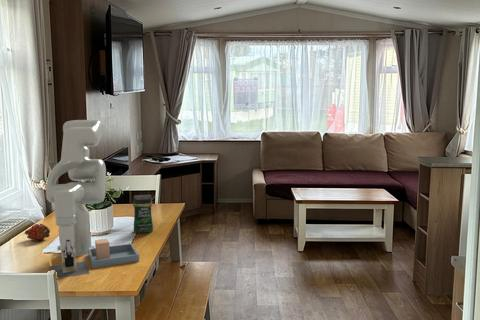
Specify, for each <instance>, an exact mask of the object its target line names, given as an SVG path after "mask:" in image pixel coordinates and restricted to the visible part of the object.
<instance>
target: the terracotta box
mask: <svg viewBox="0 0 480 320" xmlns="http://www.w3.org/2000/svg"><path fill="white" fill-rule="evenodd" d="M94 245H95V246H94V247H95V248H96V259H97V260H101V259H108V258H110V249H109V246H110V241H109V239H108V238H103V239H102V238H101V239H95V241H94Z"/></svg>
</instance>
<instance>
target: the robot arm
mask: <svg viewBox="0 0 480 320" xmlns="http://www.w3.org/2000/svg"><path fill="white" fill-rule="evenodd" d="M62 132H63V136H62V146H61V155H60V156H61V157H60V160H59V162H57V163H56V164H55V165H54V167H52V169H51V170H50V172H49V174H48V176H47V179H46V189H45V197H46V200H47V201H48V202H49V203H51V204H54V214H55V215H54V216H55V226H57V227H58V235H59V236H58V237H59V245H57V246H56V247H57V248H56V249H57V251H60V252H61V251H63V250H65V267H72V266H74V258H73V252H72V250H73V249H74V248H75V254H76V257H81V256H86V255H87V256H88V249H93V248H96V246H93V245H92V236H91V232H90V227H91V219H90V217H91V216H90V212H89V210H88V208H87V207H86V206H85V205H86V204H87V205H88V204H89V205H90V204H100V203H102V202H104V200H105V197H106V182H107V177H106V176H107V168H106V164H105V161H104V160H103V159H100V158H99V159H98V158H90V153H91V152H90V149H89V148H90V147H91V148H92V147H97V146H98V145H100V144H99V143H100V142H101V139H102V138H103V134H104V125H103V123H102V121H100V119H75V120H74V119H73V120H68V121H65V122H64V124H63V126H62ZM65 173H68V174H67V175H68V177H69V179H70V180H71V182H67V183H60V184H58V183H57V181H58V180H59V178H60V177H61V176H62V175H63V174H65ZM66 251H67V253H66Z"/></svg>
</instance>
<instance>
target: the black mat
mask: <svg viewBox="0 0 480 320" xmlns="http://www.w3.org/2000/svg"><path fill="white" fill-rule="evenodd" d="M87 263H88V262H87V261H86V260H84V261H76V269H77V271H73V272H66V273H63V269H62V264H57V265H52V266H51V265H50V266H49V271H50V270H55V271H56V272H57V277H58V278H57V279H61V278H62V279H63V278H69V277H76V276H82V275H88V274H90V270H89V267H88V264H87Z"/></svg>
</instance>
